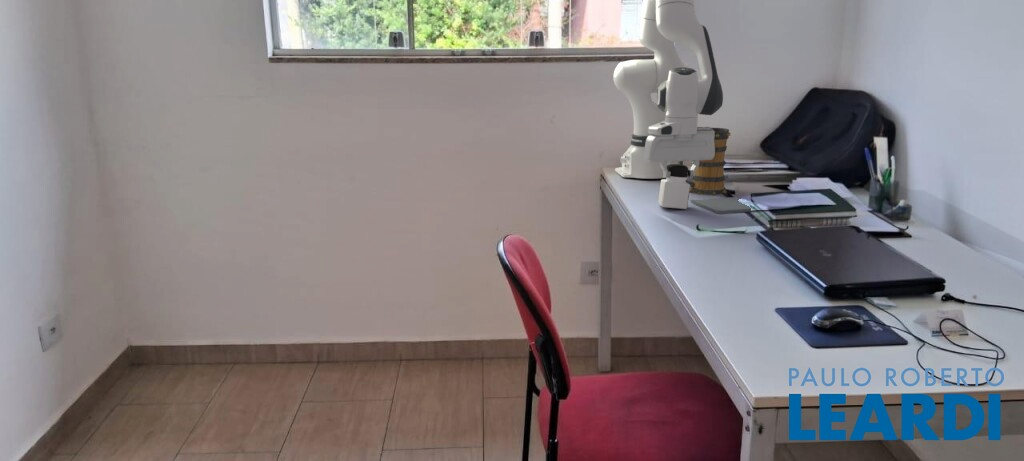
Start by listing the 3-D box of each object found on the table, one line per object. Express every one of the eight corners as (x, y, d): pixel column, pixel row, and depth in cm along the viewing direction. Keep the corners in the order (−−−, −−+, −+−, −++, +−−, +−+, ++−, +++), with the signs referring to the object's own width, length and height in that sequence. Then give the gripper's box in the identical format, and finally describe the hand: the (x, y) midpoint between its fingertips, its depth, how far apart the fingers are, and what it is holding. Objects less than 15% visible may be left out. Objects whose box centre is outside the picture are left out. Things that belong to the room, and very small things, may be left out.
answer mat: (690, 202, 224) (690, 200, 223) (738, 199, 228) (739, 196, 227) (718, 213, 209) (718, 211, 208) (769, 210, 212) (769, 207, 212)
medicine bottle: (687, 209, 213) (693, 167, 210) (661, 207, 213) (667, 164, 211) (682, 205, 220) (687, 164, 217) (657, 203, 220) (663, 162, 218)
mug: (735, 196, 232) (739, 131, 227) (681, 198, 230) (684, 132, 225) (719, 189, 245) (723, 126, 240) (668, 190, 243) (670, 127, 238)
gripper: (709, 125, 216) (706, 173, 219) (642, 127, 211) (641, 176, 214) (720, 127, 210) (717, 176, 213) (652, 129, 205) (650, 180, 208)
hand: (678, 176), depth 213 cm, fingers open, 6 cm apart
